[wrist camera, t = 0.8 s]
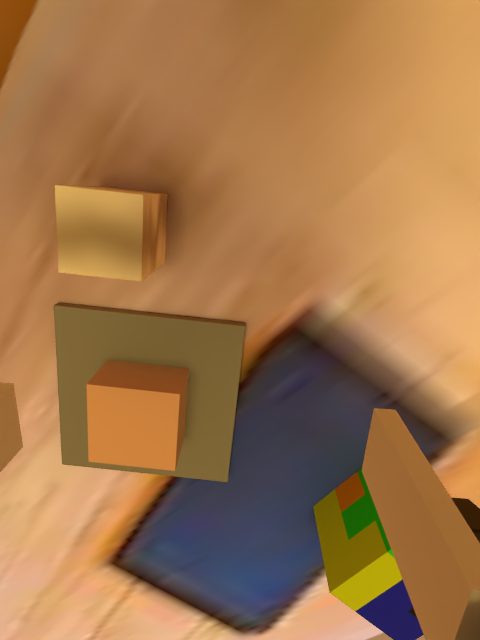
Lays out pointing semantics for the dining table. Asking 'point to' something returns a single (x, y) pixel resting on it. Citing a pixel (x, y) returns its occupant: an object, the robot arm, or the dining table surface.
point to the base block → (137, 414)
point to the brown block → (110, 231)
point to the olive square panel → (154, 349)
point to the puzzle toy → (363, 560)
